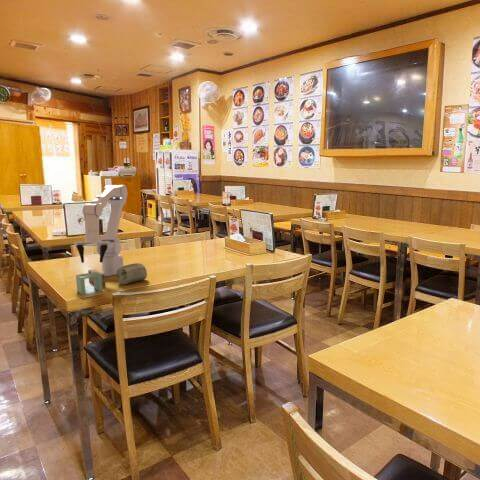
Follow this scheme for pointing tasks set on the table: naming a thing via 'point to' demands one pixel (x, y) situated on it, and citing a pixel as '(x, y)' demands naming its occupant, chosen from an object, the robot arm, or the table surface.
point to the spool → (131, 273)
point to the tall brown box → (93, 277)
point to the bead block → (81, 278)
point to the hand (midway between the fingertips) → (91, 262)
